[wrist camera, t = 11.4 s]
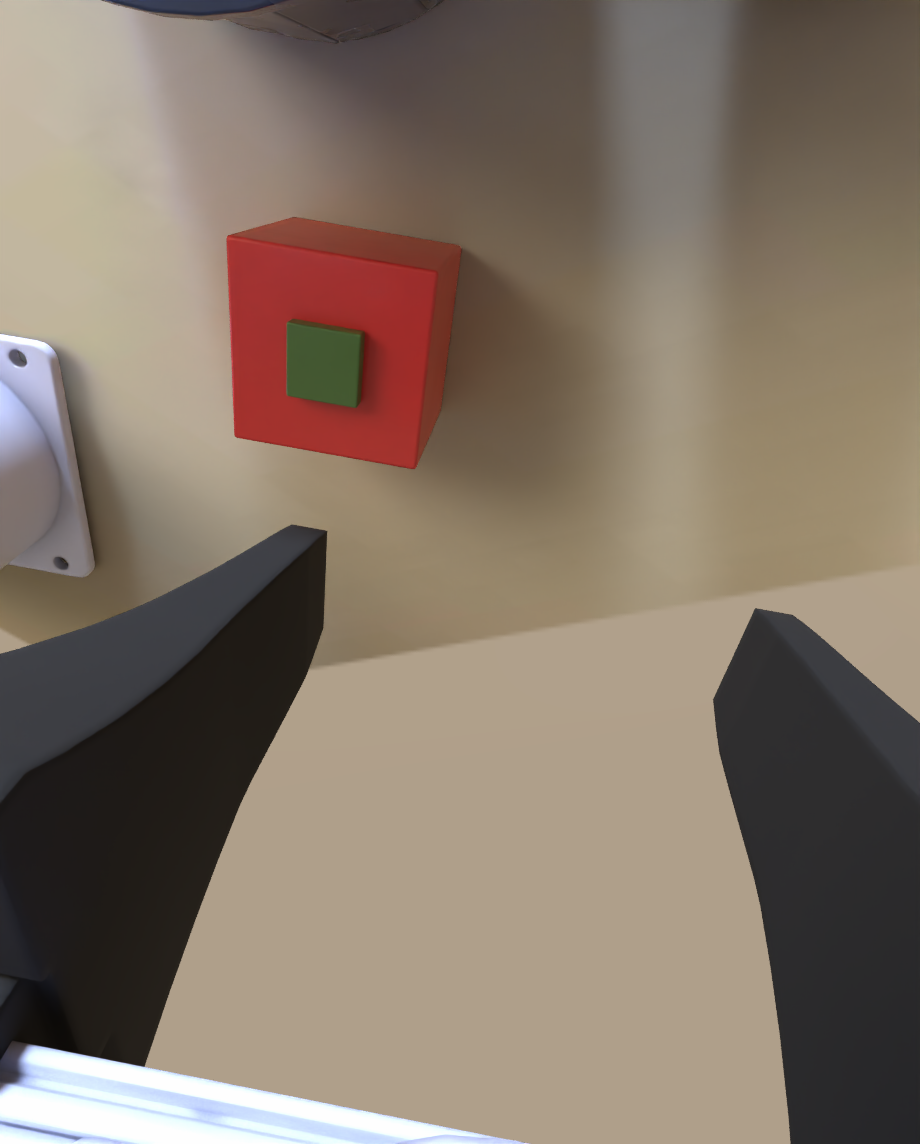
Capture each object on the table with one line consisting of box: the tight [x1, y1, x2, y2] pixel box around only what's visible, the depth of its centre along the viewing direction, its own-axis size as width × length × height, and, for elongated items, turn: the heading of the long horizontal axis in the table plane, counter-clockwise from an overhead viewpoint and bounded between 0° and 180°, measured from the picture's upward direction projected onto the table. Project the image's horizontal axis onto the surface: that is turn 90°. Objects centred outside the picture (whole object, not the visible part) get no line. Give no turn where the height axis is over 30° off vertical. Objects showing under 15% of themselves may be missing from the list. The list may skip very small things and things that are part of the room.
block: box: [227, 217, 461, 469], centre depth 17 cm, size 4×4×5 cm
